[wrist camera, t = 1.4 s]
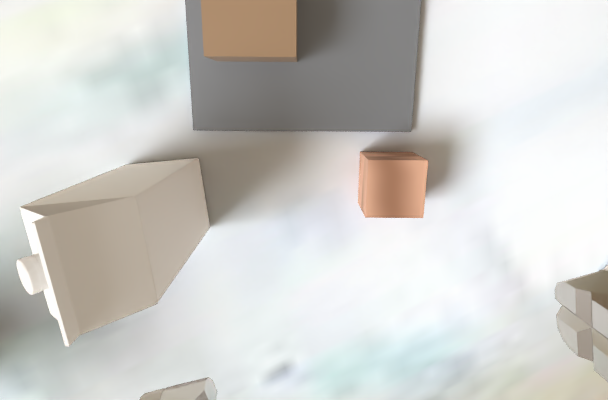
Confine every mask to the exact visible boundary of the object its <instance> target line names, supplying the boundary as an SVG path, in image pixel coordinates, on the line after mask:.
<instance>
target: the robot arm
mask: <svg viewBox="0 0 608 400" xmlns="http://www.w3.org/2000/svg"><path fill="white" fill-rule="evenodd" d="M555 299H556V300H557V301H558V302H559V303H560V304H561V305H562V306H561V308H560V310H559V311H558V313H557V315H556V319H557V328H558V330H559V332H560V335H561V337H562V339H563V341H564V342H565V343H566V345H567V346H568V347H569V349H571V350H572V351H573V352H574V353H575V354H576V355H577V356H579V357H582V358H585V359H588V360H591V361H593V366H594V371H596V372H597V373H598V374H599V375H600V376H601V377H602V378H604V379H605V380H606V381H607V382H608V265H607V266H606V267H605V268H604V269H602V270H599V271H598V272H595V273H591V274H587V275H584V276H580V277H576V278H573V279H569V280H566V281H562V282H558V283H557V285H556V287H555ZM216 397H217V389H216V387H215V384H214V382H213V380H212V379H211V378H209V377H207V378H203V379H199V380H195V381H191V382H187V383H183V384H179V385H175V386H171V387H167V388H163V389H160V390H156V391H152V392H148V393H145V394H144V395H143V396H141V397H140V399H139V400H216Z"/></svg>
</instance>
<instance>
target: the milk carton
mask: <svg viewBox="0 0 608 400" xmlns="http://www.w3.org/2000/svg"><path fill="white" fill-rule="evenodd" d="M20 211H21V215H22V218H23V222H24V225H25V229H26V232H27V236H28V239H29V243H30V246H31V250H32V253H33V255H31V256H28V257H24V258H20V259H18V260H17V270H18V274H19V277H20V280H21V282H22V285H23V286H24V288H25V290H26V291H27V292H28V293H29V294H32V295H33V294H36V293H38V292H41V291H44V295H45V298H46V301H47V305H48V308H49V311H50V314H51V315H52V316H54V317H55V318H56V319H57V320H58V323H59V326H60V330H61V333H62V337H63V340H64V344H65V346H66V347H67V346H70V345H71V344H72V343H73V342H74V341H75V340H76V339H77V338H78V336H79V335H82V334H84V333H87V332H89V331H92V330H94V329H97V328H99V327H102V326H104V325H106V324H109V323H111V322H114V321H116V320H119V319H121V318H124V317H126V316H129V315H131V314H134V313H136V312H139V311H141V310H143V309H146V308H148V307H151V306H153V305H156V304H157V303H158V301H159V300H160V298H161V297H162V296H163V294H164V293H165V291H166V290H167V288H168V287H169V285H170V284H171V283H172V281H173V280H174V278H175V277H176V275H177V274H178V273H179V271H180V270H181V268H182V267H183V265H184V264H185V263H186V261H187V260H188V258H189V257H190V255H191V254H192V252H193V251H194V250H195V248H196V247H197V245H198V244H199V242H200V241H201V240H202V238H203V237H204V235H205V234H206V232H207V231H208V230H209V228H210V223H209V217H208V211H207V205H206V199H205V192H204V186H203V180H202V174H201V168H200V162H199V159H198V158H192V159H181V160H170V161H160V162H149V163H138V164H128V165H124V166H121V167H119V168H116V169H114V170H111V171H109V172H106V173H104V174H101V175H99V176H96V177H94V178H91V179H89V180H86V181H84V182H81V183H79V184H76V185H74V186H71V187H69V188H66V189H64V190H61V191H59V192H56V193H54V194H51V195H49V196H46V197H44V198H41V199H39V200H36V201H34V202H31V203H29V204H26V205H24V206H21V207H20Z"/></svg>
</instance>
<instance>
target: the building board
mask: <svg viewBox="0 0 608 400" xmlns="http://www.w3.org/2000/svg"><path fill="white" fill-rule="evenodd" d="M185 5H186V21H187V37H188V53H189V68H190V84H191V100H192V115H193V130H222V131H371V132H411V129H412V116H413V102H414V89H415V76H416V63H417V49H418V36H419V23H420V9H421V0H185Z"/></svg>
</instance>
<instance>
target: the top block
mask: <svg viewBox="0 0 608 400" xmlns="http://www.w3.org/2000/svg"><path fill="white" fill-rule="evenodd" d="M427 169H428V160H426V159H424V158H423V157H421V156H419V155H417V154H415V153H413V152H360V167H359V190H358V204H359V206H360V208H361V210H362V212H363V214H364V216H365V217H375V218H423V214H424V203H425V192H426V180H427Z"/></svg>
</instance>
